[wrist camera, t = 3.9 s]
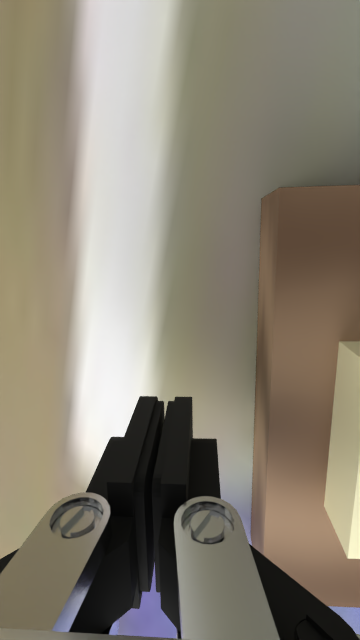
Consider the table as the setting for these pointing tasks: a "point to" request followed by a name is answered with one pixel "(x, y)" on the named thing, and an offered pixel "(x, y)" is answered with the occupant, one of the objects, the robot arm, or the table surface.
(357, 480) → the notepad
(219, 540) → the robot arm
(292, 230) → the block
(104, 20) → the table surface
